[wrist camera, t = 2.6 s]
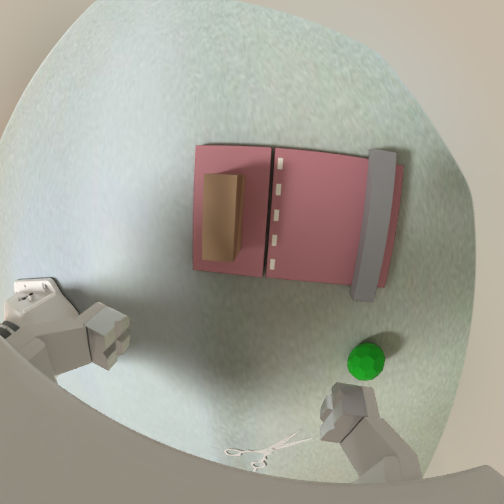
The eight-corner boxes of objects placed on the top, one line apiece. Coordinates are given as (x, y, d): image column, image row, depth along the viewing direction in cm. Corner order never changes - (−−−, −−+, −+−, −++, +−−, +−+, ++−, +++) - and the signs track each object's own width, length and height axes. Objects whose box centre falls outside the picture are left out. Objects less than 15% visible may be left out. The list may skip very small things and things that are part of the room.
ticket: (265, 281, 32) (263, 293, 29) (276, 139, 27) (274, 136, 24) (380, 291, 30) (387, 302, 27) (400, 157, 25) (411, 156, 23)
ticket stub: (195, 266, 32) (178, 284, 27) (198, 146, 28) (179, 141, 23) (262, 273, 31) (257, 294, 26) (271, 148, 27) (268, 143, 22)
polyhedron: (350, 369, 34) (355, 392, 29) (340, 345, 33) (345, 368, 28) (383, 356, 33) (391, 378, 28) (375, 330, 32) (385, 352, 27)
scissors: (217, 453, 44) (289, 422, 38) (217, 450, 45) (290, 418, 39) (254, 471, 45) (328, 443, 39) (254, 468, 46) (327, 440, 40)
